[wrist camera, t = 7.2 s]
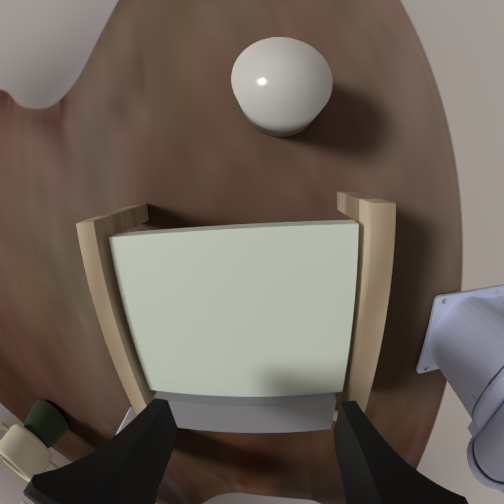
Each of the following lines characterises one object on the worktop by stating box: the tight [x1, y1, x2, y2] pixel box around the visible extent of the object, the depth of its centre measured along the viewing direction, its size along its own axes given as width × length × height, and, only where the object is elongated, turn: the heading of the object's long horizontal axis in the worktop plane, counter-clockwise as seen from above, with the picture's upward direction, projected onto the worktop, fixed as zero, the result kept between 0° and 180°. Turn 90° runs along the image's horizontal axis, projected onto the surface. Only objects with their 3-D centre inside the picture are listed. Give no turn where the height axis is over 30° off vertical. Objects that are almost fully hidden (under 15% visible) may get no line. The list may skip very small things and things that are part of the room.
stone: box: [231, 37, 333, 137], centre depth 14 cm, size 5×5×5 cm
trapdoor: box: [109, 220, 359, 433], centre depth 14 cm, size 13×12×2 cm
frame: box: [76, 191, 396, 421], centre depth 17 cm, size 15×16×7 cm
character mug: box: [0, 400, 69, 482], centre depth 21 cm, size 11×7×13 cm, turn 60°
